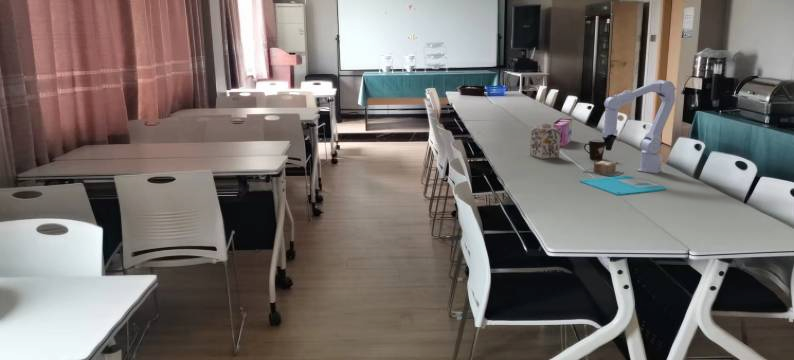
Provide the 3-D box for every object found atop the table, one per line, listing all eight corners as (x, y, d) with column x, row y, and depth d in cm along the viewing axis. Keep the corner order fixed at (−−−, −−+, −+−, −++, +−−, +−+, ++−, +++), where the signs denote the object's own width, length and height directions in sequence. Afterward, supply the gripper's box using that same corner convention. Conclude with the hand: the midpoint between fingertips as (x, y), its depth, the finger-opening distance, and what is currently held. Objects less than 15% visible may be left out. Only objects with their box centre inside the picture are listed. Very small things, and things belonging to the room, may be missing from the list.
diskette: (578, 182, 281) (578, 180, 281) (628, 177, 291) (628, 175, 290) (617, 196, 257) (617, 194, 257) (670, 190, 267) (670, 188, 267)
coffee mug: (602, 157, 334) (603, 139, 331) (606, 160, 326) (607, 142, 323) (580, 157, 335) (581, 138, 333) (583, 160, 327) (584, 141, 324)
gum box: (564, 147, 364) (565, 124, 361) (550, 145, 367) (552, 123, 364) (571, 140, 385) (572, 118, 382) (558, 139, 388) (559, 118, 385)
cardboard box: (616, 162, 300) (608, 165, 293) (615, 170, 301) (607, 173, 294) (602, 160, 305) (594, 163, 297) (601, 168, 306) (593, 171, 298)
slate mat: (623, 173, 297) (623, 172, 297) (615, 176, 290) (615, 175, 290) (591, 168, 308) (591, 167, 307) (583, 171, 300) (583, 170, 300)
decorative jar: (559, 157, 333) (561, 124, 329) (541, 159, 329) (543, 125, 325) (546, 153, 344) (548, 121, 340) (528, 155, 340) (530, 122, 335)
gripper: (608, 119, 304) (606, 147, 307) (596, 123, 293) (594, 151, 297) (622, 121, 300) (620, 148, 303) (611, 124, 289) (608, 153, 292)
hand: (608, 150), depth 299 cm, fingers closed
